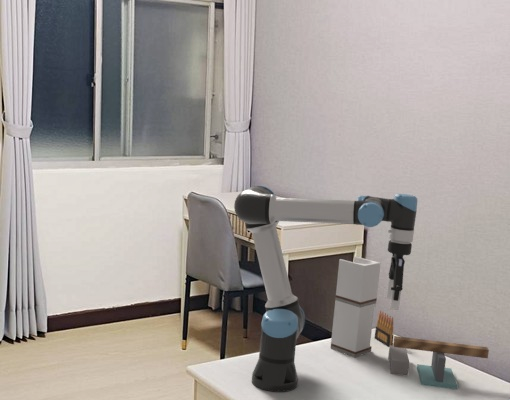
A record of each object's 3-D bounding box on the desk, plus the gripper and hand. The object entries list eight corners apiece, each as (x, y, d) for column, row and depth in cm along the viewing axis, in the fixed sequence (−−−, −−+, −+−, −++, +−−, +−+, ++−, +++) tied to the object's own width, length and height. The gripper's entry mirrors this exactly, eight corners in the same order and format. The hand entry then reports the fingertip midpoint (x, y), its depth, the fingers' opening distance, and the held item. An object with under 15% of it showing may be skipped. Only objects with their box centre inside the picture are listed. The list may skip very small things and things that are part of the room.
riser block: (390, 373, 247) (392, 360, 247) (388, 358, 263) (389, 345, 262) (407, 375, 246) (409, 362, 246) (404, 360, 262) (405, 347, 262)
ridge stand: (421, 384, 239) (424, 356, 238) (416, 368, 255) (420, 341, 254) (457, 389, 238) (460, 361, 236) (450, 372, 253) (453, 345, 252)
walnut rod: (393, 346, 245) (394, 338, 245) (393, 344, 248) (394, 336, 248) (487, 358, 241) (488, 350, 241) (486, 355, 244) (487, 347, 244)
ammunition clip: (392, 347, 276) (395, 317, 275) (388, 347, 276) (391, 317, 274) (378, 338, 286) (381, 309, 284) (374, 338, 285) (377, 309, 284)
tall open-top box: (370, 351, 269) (380, 262, 264) (354, 357, 261) (364, 265, 256) (346, 343, 276) (355, 256, 272) (330, 348, 269) (339, 259, 264)
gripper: (385, 233, 242) (378, 292, 245) (392, 247, 217) (383, 313, 220) (407, 236, 241) (399, 295, 244) (416, 250, 217) (407, 316, 220)
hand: (392, 303), depth 232 cm, fingers open, 13 cm apart
